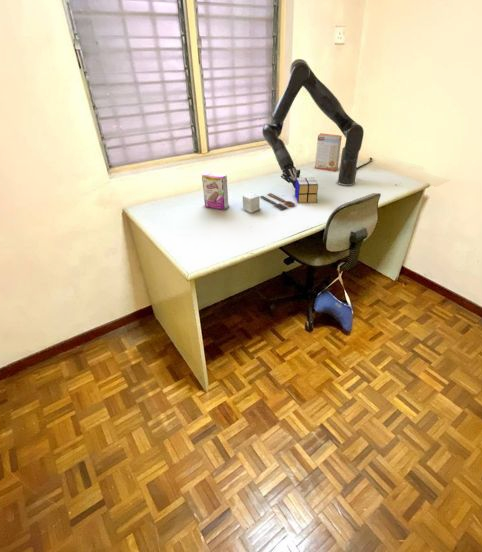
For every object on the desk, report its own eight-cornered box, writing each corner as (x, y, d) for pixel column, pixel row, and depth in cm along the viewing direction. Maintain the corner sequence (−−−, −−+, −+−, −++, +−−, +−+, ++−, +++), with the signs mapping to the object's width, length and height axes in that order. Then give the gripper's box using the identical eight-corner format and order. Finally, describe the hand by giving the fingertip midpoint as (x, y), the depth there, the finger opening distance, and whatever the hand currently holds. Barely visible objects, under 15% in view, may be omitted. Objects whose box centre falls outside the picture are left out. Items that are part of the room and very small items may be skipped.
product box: (259, 209, 166) (259, 195, 161) (250, 213, 162) (250, 199, 158) (251, 205, 169) (251, 192, 165) (242, 209, 166) (242, 195, 161)
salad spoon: (272, 193, 182) (272, 192, 182) (296, 205, 170) (296, 204, 170) (266, 195, 180) (266, 194, 179) (290, 207, 168) (290, 206, 168)
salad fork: (264, 196, 179) (264, 195, 179) (287, 208, 167) (287, 207, 167) (258, 198, 177) (258, 197, 177) (281, 210, 165) (281, 209, 165)
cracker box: (337, 168, 217) (342, 135, 205) (335, 171, 213) (339, 137, 200) (317, 165, 222) (320, 132, 209) (314, 168, 217) (317, 134, 205)
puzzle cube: (294, 195, 181) (295, 177, 175) (312, 195, 182) (314, 177, 176) (297, 203, 173) (299, 184, 167) (316, 202, 174) (318, 184, 168)
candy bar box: (204, 207, 167) (201, 175, 157) (209, 203, 171) (206, 171, 161) (224, 210, 164) (222, 178, 154) (229, 206, 168) (227, 174, 158)
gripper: (278, 157, 172) (291, 187, 172) (296, 153, 179) (310, 182, 179) (271, 164, 179) (284, 194, 179) (289, 160, 186) (302, 188, 185)
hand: (297, 188), depth 179 cm, fingers closed
